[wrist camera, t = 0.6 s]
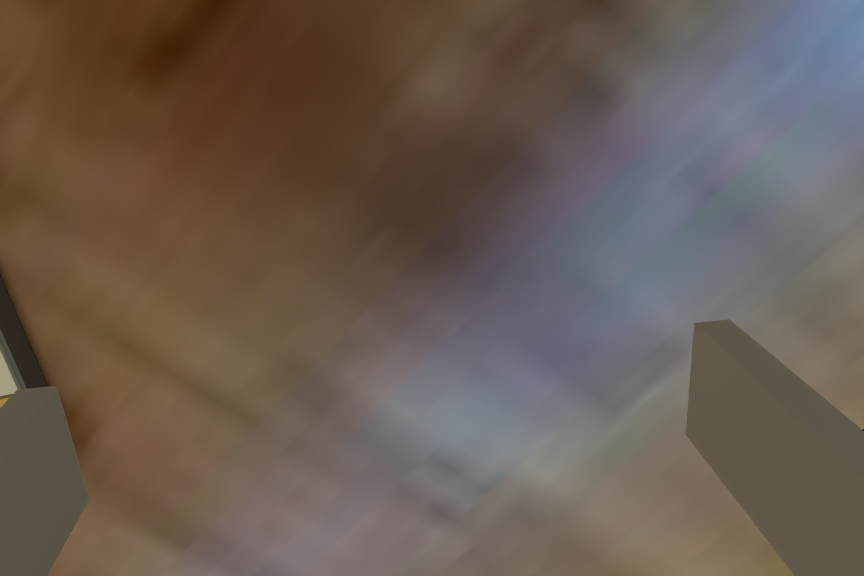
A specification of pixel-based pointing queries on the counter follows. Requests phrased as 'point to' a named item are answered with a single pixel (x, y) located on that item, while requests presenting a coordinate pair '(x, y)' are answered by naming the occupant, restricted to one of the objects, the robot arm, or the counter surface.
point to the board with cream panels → (15, 353)
